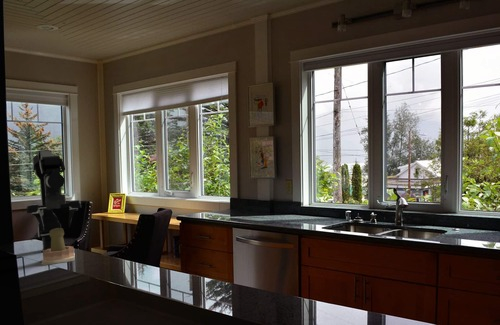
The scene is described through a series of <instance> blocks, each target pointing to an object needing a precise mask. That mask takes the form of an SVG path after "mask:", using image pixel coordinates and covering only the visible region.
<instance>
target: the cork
mask: <svg viewBox="0 0 500 325" xmlns="http://www.w3.org/2000/svg"><path fill="white" fill-rule="evenodd" d="M48 234H50V237H51V252H55V251H61V250H66V248H65V246H66V245H65V244H66V243H65V240H64V239H65V238H64V235H65V231H64V228H62V227H61V228H55V229H52V230H50V233H48Z"/></svg>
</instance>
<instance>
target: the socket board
mask: <svg viewBox="0 0 500 325" xmlns="http://www.w3.org/2000/svg"><path fill="white" fill-rule="evenodd" d="M65 248H66V250H61V251H55V252H51V249H47V250H44V251H43V252H42V257H43V258H42V261H41V266H47V265H48V266H49V265H56V264H60V263H61V264H62V263H67V262H68V263H69V262H74V261H75V257H76V256H75V255H76V254H75V252H74V251H75V249H74V246H71V245H65Z"/></svg>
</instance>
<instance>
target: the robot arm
mask: <svg viewBox="0 0 500 325" xmlns="http://www.w3.org/2000/svg"><path fill="white" fill-rule="evenodd" d="M65 166H66V165H65V162H64V160H63V158H62V157H60V155H58V154H57V155H54V154H53V153H52V150H50V149H39V150H37V154H36V155H34V156H33V157H32V171H34V175H35V176H36V177H37V179H38V180H39V187H40V188H39V189H40V200H41V205H40V203H36V204H35V203H34V204H29V205H27V206H26V214H30V215H31V216H34V217H35V218H36V220H37V222H38V224H37V237H38V238H39V239H41V238H42V239H41V240H42V249H41V253H43V251H44V250H47V249H51V237H50V234H49V233H50V230H52V229H55V228H62V224H61V223H60V220H58V219H59V218H58V217H57V215H56V214H55V213H54V210H57V209H63V208H64V209H65V208H69V210H68V211H69V213H68V228H71V225H72V220H73V217H74V213H75V211H78V210H79V209H80V208H82V202H81V200H80V199H75V200H74V199H72V200H69V202H67V201H66V194H63V191H62V187H63V186H64V185H65V181H66V180H65V177H64V175H62V174H61V173H65V171H66V167H65Z"/></svg>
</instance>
